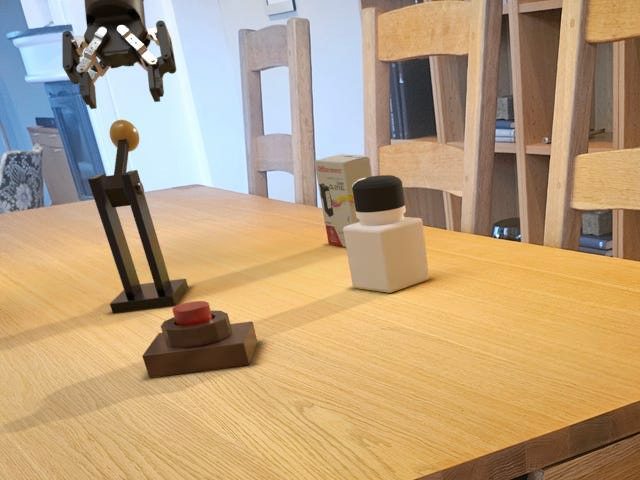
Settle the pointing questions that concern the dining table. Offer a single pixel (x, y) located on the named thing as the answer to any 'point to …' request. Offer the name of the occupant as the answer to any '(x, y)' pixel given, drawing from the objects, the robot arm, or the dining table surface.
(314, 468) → the dining table surface
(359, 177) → the ink box
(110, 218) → the bracket
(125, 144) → the ball knob lever
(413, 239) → the medicine bottle
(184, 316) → the release button
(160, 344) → the block
